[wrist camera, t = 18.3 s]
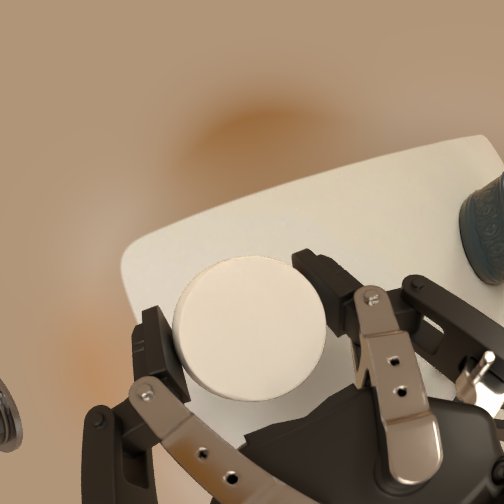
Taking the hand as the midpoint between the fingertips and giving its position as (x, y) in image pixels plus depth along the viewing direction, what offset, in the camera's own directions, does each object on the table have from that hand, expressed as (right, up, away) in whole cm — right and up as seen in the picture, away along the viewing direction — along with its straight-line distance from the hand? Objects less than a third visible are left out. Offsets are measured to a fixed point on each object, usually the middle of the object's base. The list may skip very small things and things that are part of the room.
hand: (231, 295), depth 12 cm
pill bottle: (0, -4, +7) cm, 8 cm away
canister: (+33, +3, +15) cm, 36 cm away
